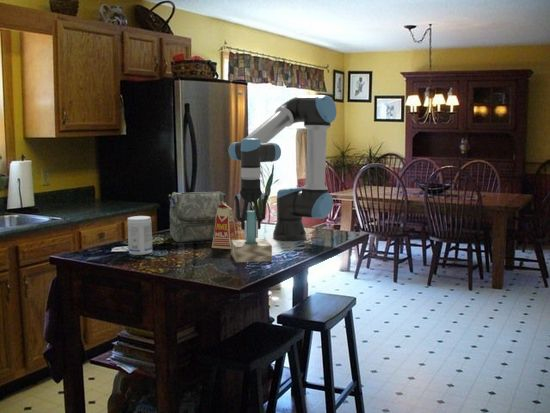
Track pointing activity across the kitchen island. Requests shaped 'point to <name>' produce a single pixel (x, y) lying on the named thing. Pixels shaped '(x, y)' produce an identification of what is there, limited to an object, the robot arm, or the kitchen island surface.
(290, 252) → the kitchen island surface
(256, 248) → the bore block
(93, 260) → the kitchen island surface
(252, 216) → the dowel
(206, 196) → the lunch bag
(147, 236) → the supplement tub
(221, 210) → the milk carton
